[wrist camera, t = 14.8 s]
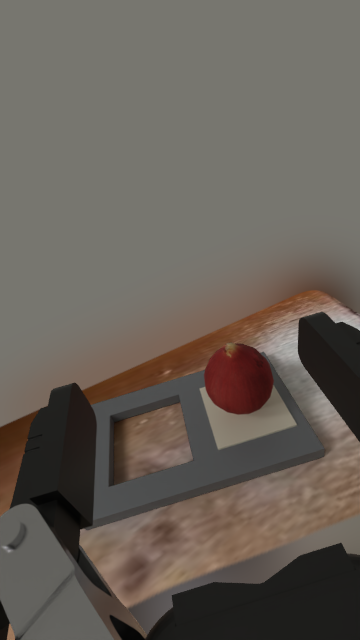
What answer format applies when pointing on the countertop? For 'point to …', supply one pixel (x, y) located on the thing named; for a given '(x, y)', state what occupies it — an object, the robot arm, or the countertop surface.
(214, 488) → the tray
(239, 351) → the onion
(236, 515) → the countertop surface
